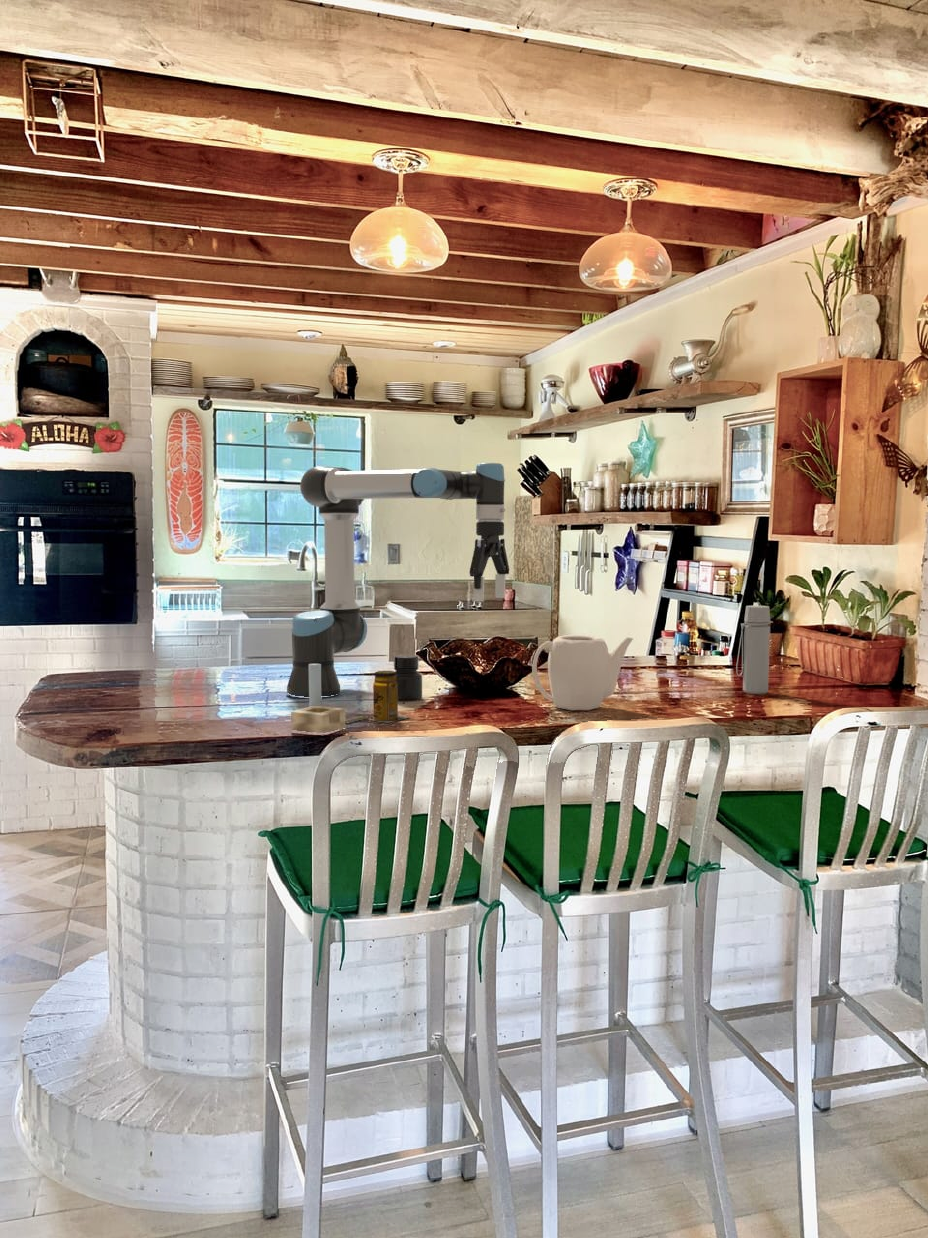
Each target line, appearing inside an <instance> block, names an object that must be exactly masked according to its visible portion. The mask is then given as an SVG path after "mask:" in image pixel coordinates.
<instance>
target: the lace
mask: <svg viewBox="0 0 928 1238" xmlns="http://www.w3.org/2000/svg"><path fill="white" fill-rule="evenodd" d="M363 719H365V720H367V716H366V715H359V716H357V717H356V716H355V717H351V718H347V719H345V723H347V722H353V721H357V720H361V721H364V720H363ZM357 722H358V721H357ZM353 723H354V722H353Z"/></svg>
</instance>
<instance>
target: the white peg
mask: <svg viewBox="0 0 928 1238" xmlns="http://www.w3.org/2000/svg"><path fill="white" fill-rule="evenodd" d="M308 705H309V706H308V707H310V706H314V705H315V706H322V698H321V664H309V698H308Z"/></svg>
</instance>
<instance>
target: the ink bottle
mask: <svg viewBox="0 0 928 1238" xmlns="http://www.w3.org/2000/svg"><path fill="white" fill-rule="evenodd" d="M393 667H394V668H393V670H395V671H394V672H395V673H396V682H397V684H398V702H415V701H418V700H419V701H420V700H421V699H422V698H423V676H422V674H421V673H420V672H419V671H418V670H419V655H416V654H397V655H394V656H393Z"/></svg>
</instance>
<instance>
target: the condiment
mask: <svg viewBox="0 0 928 1238" xmlns="http://www.w3.org/2000/svg"><path fill="white" fill-rule="evenodd" d="M372 688H373V693H372V695H373V696H372V697H373V705H372V706H373V709H372V710H373V717H372V718H373V719H371V717H370V718H368V720H370V721H373V722H379V723H386V724H387V723H393V722H397V721H401V720H404V719H405V720H406V719H409V718H410V716H402V715H399V705H398V704H399V703H398V702H399V701H398V684H397V682H396V673H395V671H393V670H378V671H375V672H374V682H373V686H372Z"/></svg>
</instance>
